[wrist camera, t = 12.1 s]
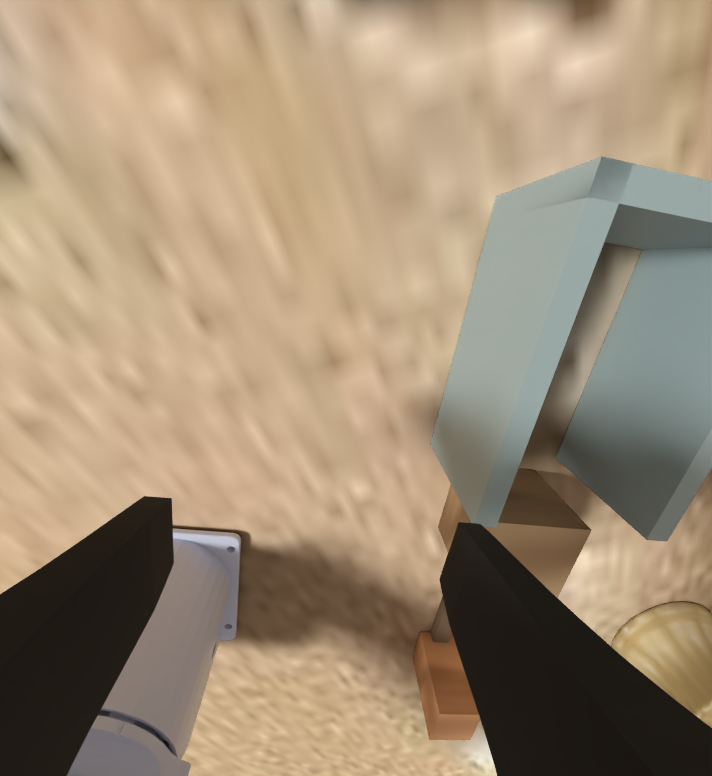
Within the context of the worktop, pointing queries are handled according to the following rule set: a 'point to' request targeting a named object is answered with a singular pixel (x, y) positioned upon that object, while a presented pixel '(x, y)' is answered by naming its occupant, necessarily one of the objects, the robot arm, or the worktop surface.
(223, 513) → the worktop surface
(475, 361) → the lane shelf
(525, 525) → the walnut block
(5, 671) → the robot arm
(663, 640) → the hand bell
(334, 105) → the worktop surface
